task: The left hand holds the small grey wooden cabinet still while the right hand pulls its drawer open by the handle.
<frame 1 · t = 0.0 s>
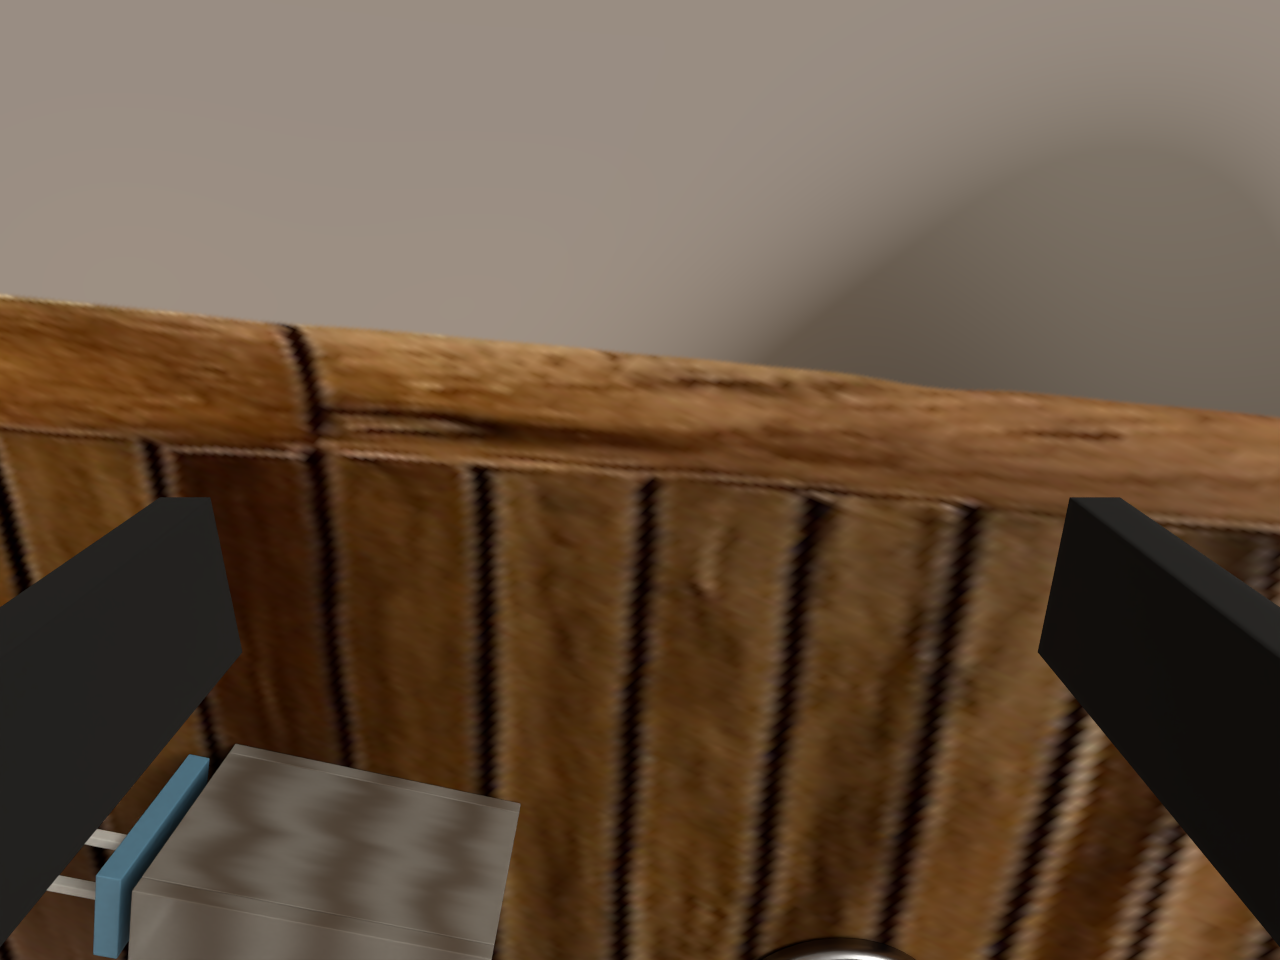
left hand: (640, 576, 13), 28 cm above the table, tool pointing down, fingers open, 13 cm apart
drawer: (244, 866, 45), point 5 cm above the table, slide at 1.0 cm
cabinet: (372, 815, 50), on the table
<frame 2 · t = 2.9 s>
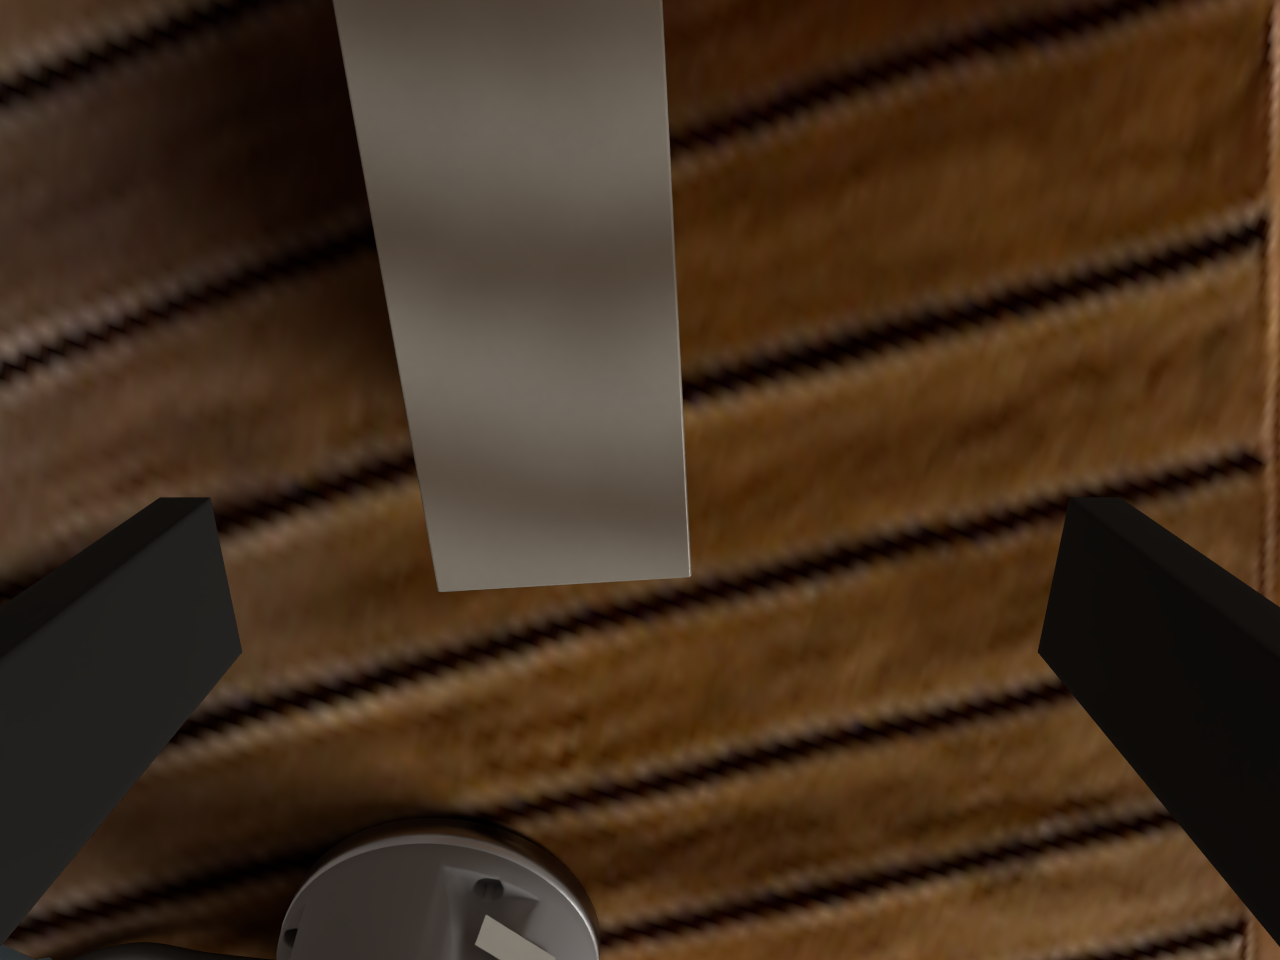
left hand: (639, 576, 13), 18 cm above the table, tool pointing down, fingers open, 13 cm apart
cabinet: (565, 218, 28), on the table
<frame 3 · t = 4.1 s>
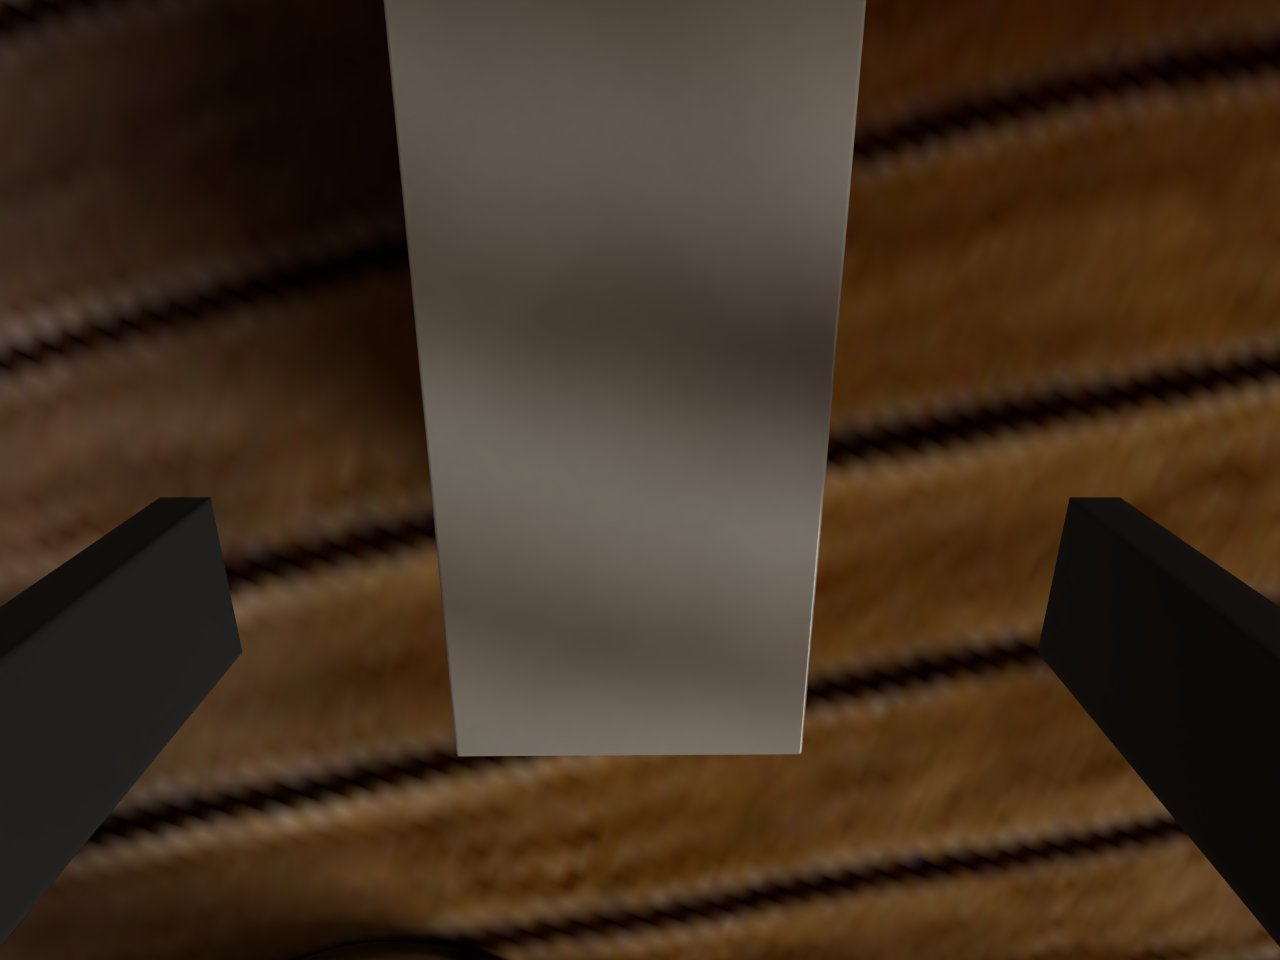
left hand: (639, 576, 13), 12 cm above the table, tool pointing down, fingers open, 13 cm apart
cabinet: (629, 249, 23), on the table
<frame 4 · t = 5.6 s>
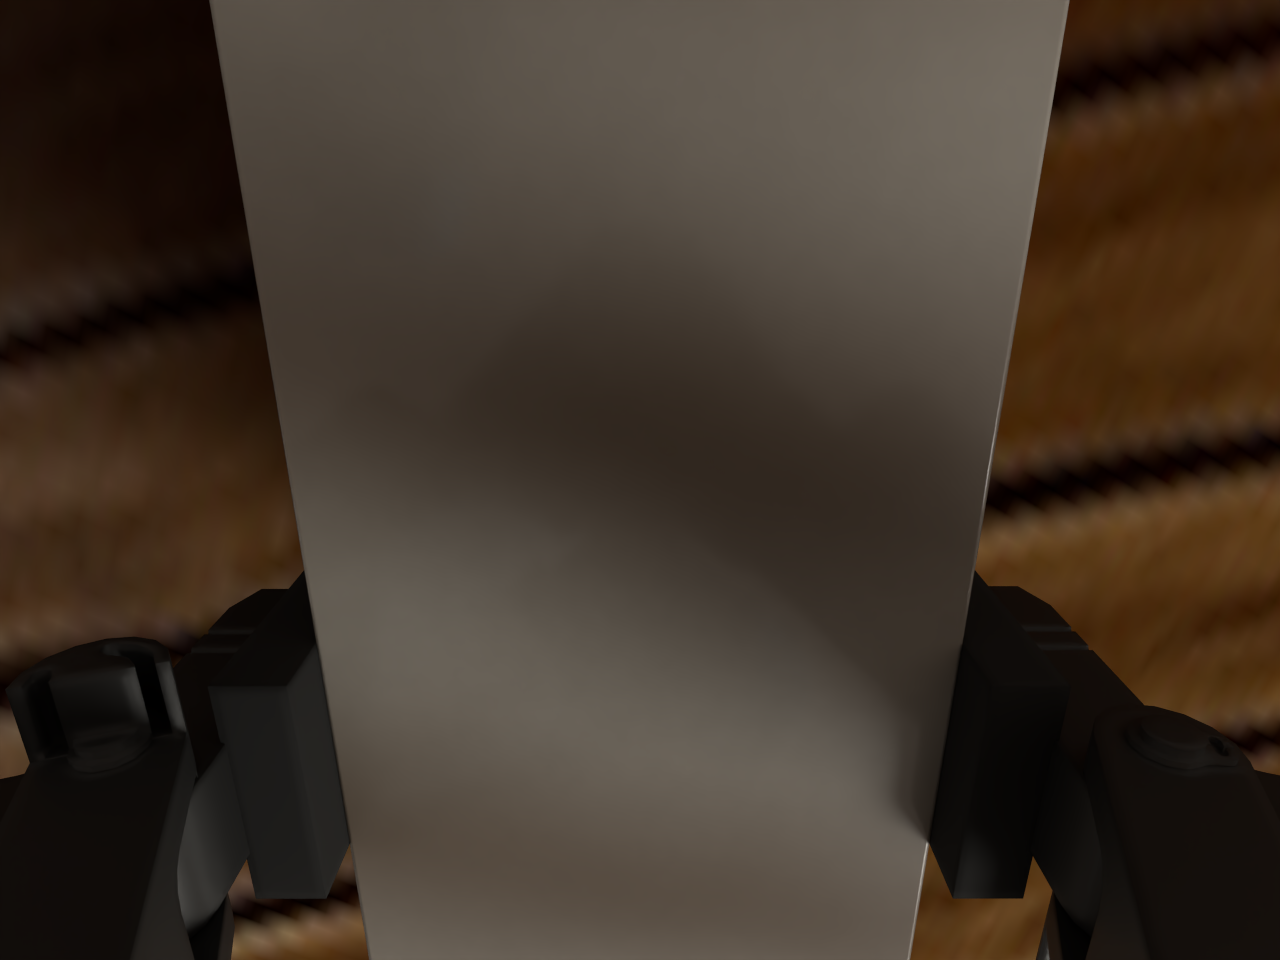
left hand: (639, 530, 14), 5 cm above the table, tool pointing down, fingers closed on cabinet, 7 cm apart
cabinet: (639, 258, 17), on the table, touching left hand
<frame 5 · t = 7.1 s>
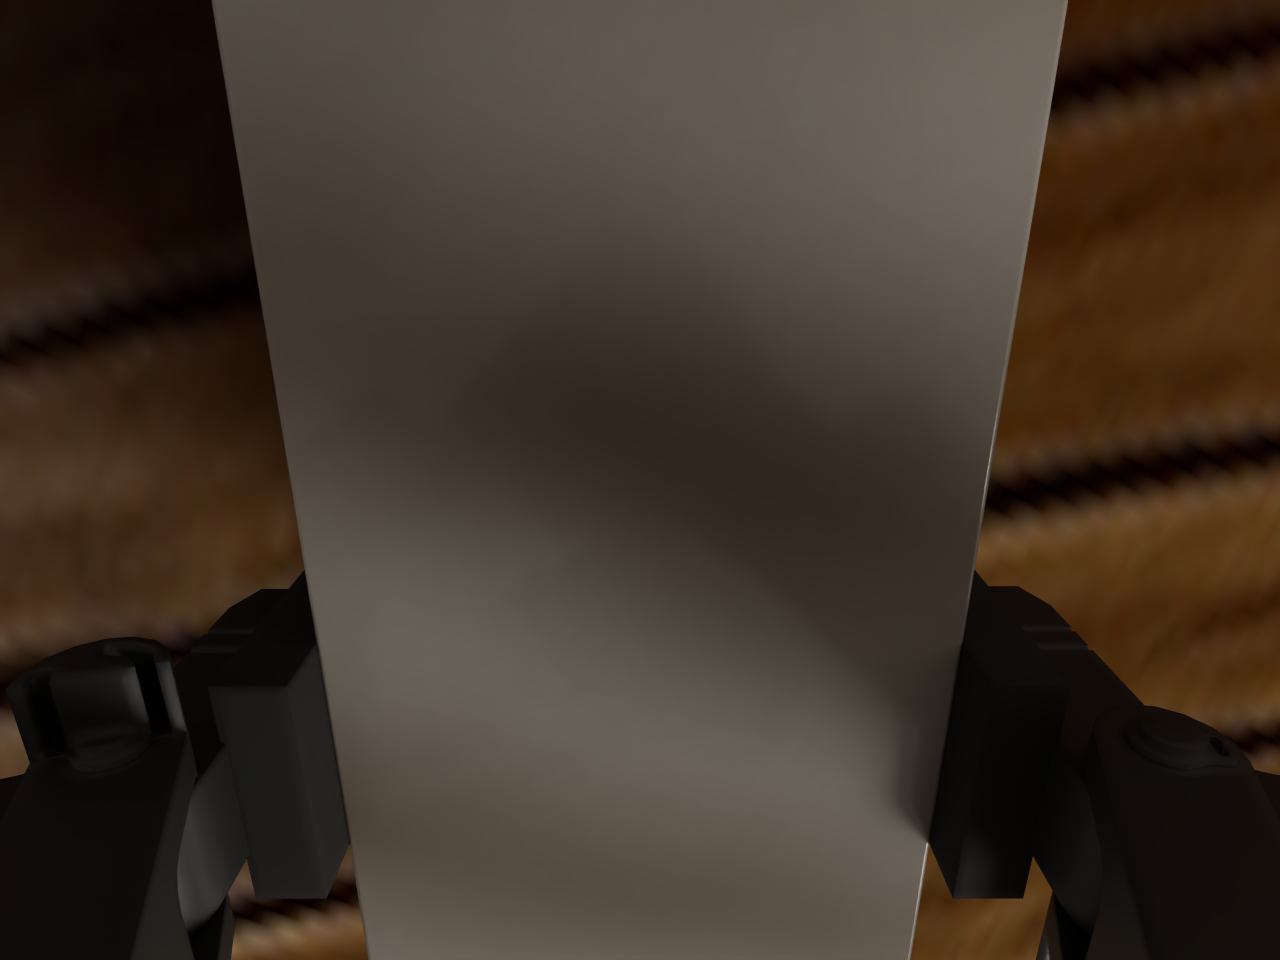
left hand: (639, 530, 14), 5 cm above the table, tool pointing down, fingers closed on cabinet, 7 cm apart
cabinet: (639, 260, 17), on the table, touching left hand
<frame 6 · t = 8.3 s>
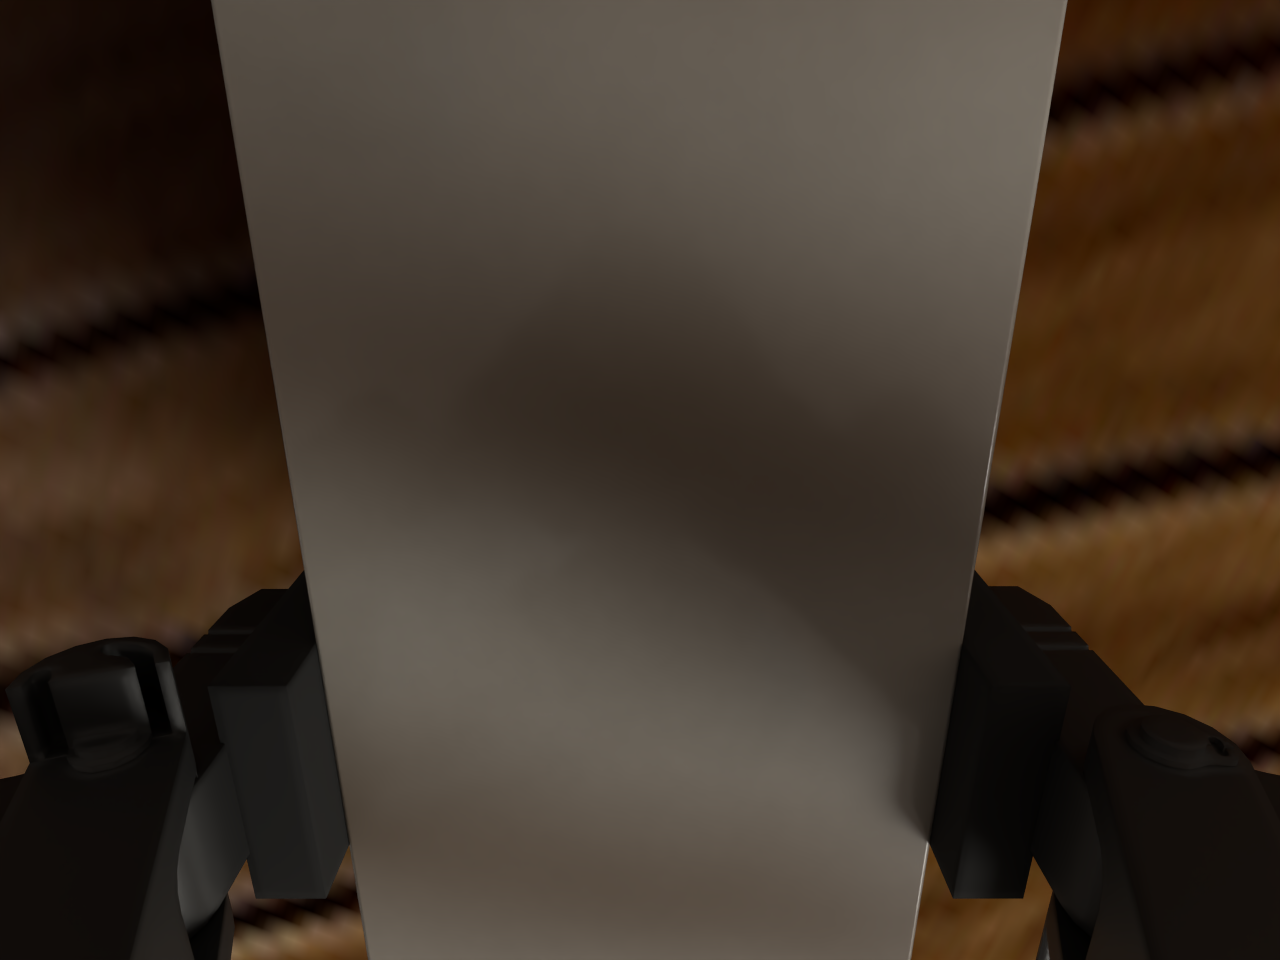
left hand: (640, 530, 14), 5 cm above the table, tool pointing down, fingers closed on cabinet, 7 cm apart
cabinet: (639, 260, 17), on the table, touching left hand
when the left hand's fingers open (5 cm above the table, at t = 9.6 s): cabinet stays where it is, on the table.
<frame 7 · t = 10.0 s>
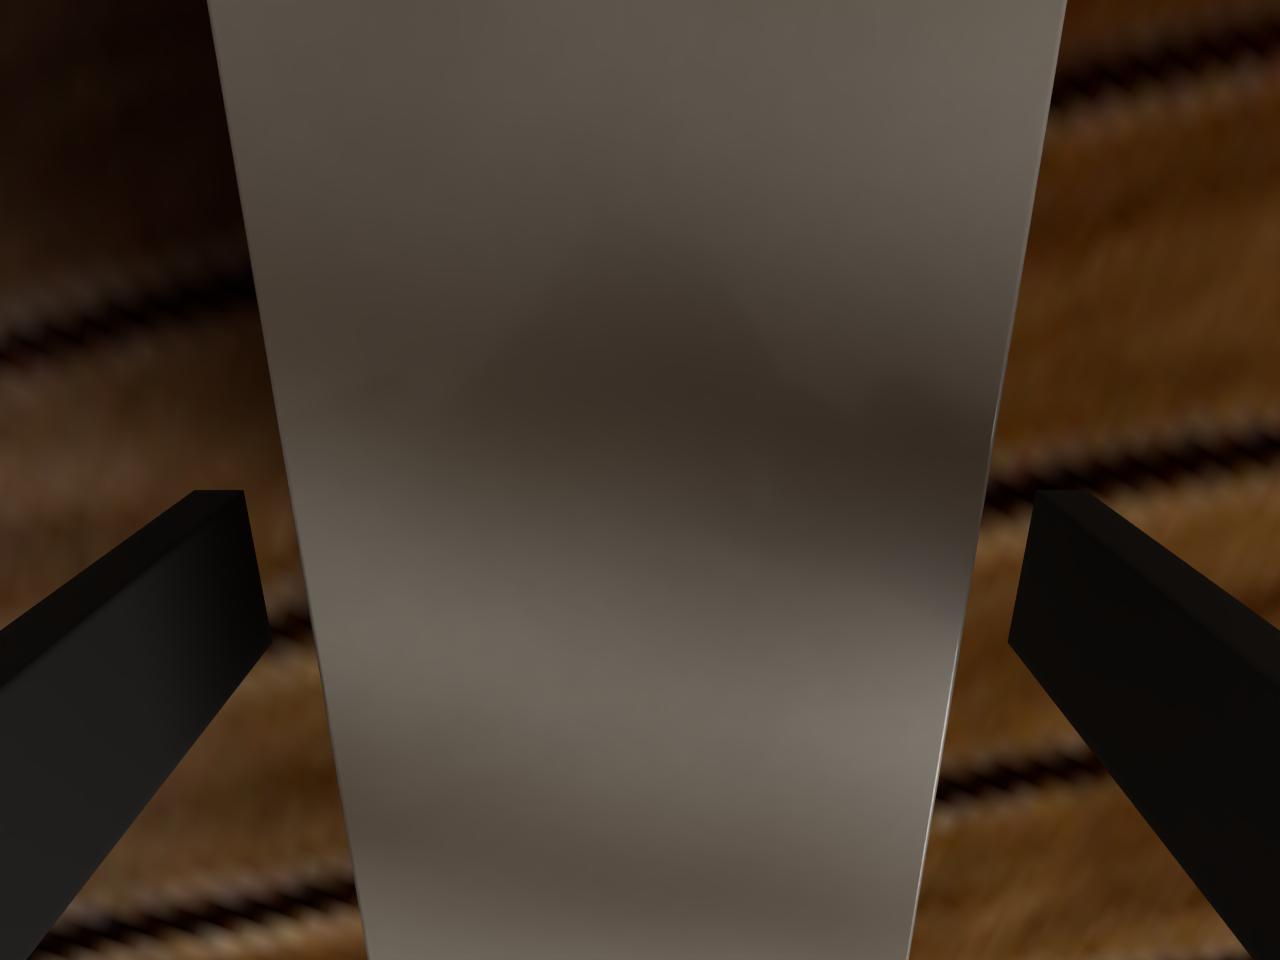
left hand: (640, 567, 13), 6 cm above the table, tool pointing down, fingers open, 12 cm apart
cabinet: (638, 251, 17), on the table
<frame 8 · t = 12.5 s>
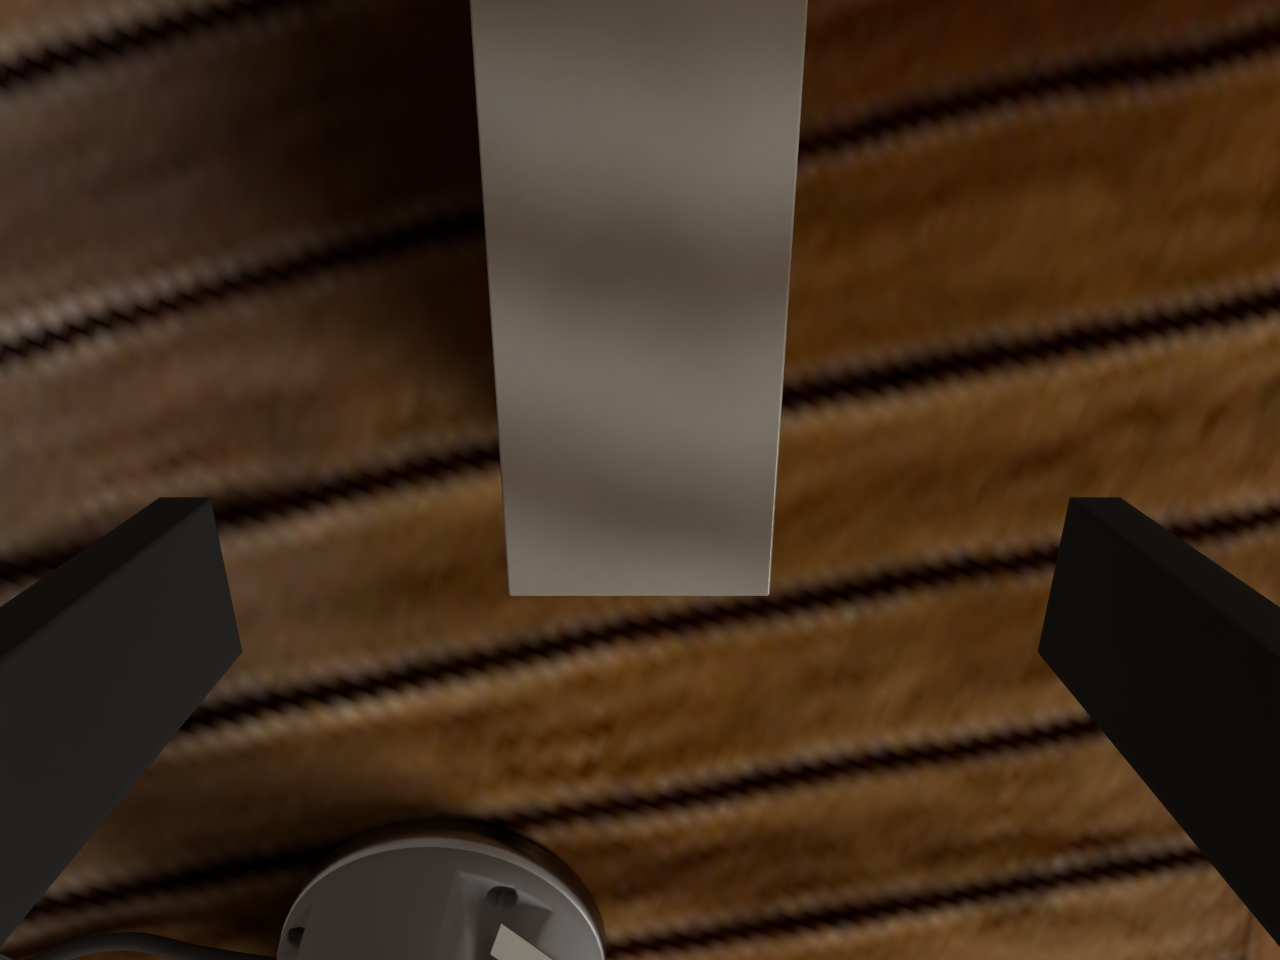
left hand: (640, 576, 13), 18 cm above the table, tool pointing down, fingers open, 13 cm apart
cabinet: (639, 220, 28), on the table
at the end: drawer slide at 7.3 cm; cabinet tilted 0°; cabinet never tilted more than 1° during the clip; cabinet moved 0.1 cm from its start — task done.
